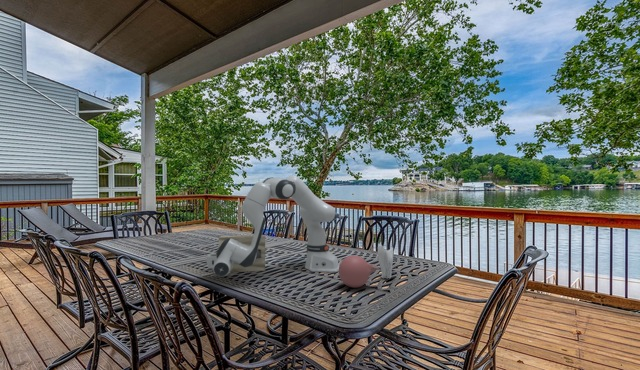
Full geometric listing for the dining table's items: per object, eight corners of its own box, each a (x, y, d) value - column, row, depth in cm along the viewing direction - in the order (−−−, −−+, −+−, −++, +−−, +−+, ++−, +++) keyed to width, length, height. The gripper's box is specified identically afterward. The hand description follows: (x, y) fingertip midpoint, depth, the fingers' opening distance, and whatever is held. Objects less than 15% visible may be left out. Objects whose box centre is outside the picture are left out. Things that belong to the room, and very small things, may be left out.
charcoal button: (252, 257, 177) (252, 249, 177) (260, 256, 178) (260, 249, 178) (252, 258, 173) (252, 251, 173) (260, 258, 174) (260, 250, 174)
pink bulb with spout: (380, 293, 141) (380, 260, 141) (337, 291, 144) (337, 258, 144) (378, 283, 156) (378, 253, 156) (339, 281, 159) (340, 251, 159)
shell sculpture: (395, 276, 167) (395, 244, 167) (392, 281, 159) (392, 246, 159) (380, 274, 170) (380, 242, 170) (376, 279, 163) (376, 245, 163)
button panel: (221, 266, 185) (221, 234, 185) (264, 264, 190) (264, 232, 190) (218, 272, 172) (218, 237, 172) (265, 270, 177) (265, 236, 177)
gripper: (245, 254, 161) (246, 249, 174) (204, 256, 157) (209, 250, 170) (245, 266, 161) (246, 260, 174) (204, 268, 157) (209, 261, 170)
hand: (227, 255), depth 172 cm, fingers closed, pressing on terracotta button
